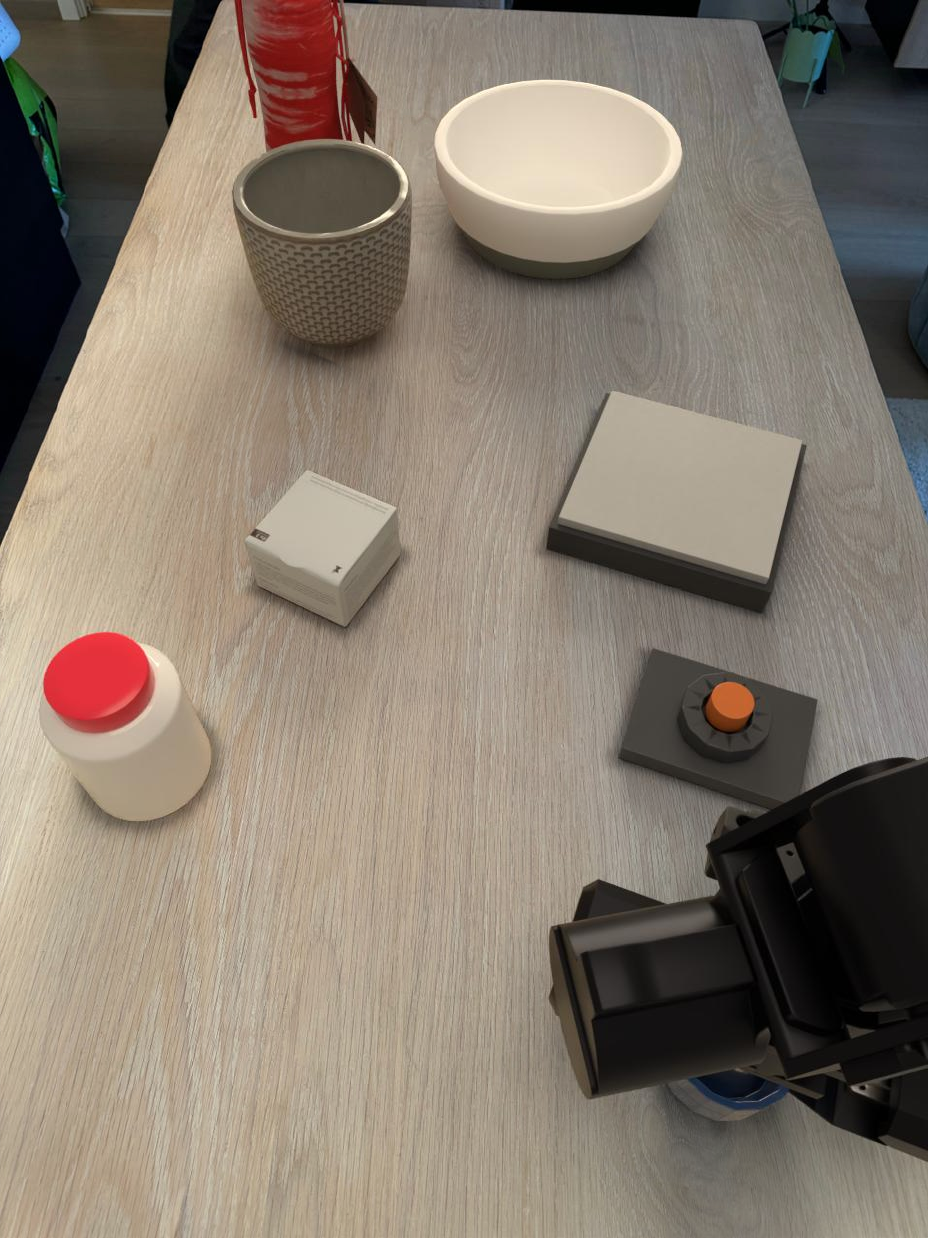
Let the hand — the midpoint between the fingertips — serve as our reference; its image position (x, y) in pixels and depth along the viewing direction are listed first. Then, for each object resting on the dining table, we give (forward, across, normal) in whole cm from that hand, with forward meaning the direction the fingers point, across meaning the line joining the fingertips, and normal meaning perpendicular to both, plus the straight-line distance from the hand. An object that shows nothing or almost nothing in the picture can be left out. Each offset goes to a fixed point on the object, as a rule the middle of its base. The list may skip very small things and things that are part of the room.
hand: (720, 1050), depth 49 cm
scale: (+1, +11, -37) cm, 39 cm away
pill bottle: (+1, +37, -4) cm, 37 cm away
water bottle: (+1, +52, -62) cm, 81 cm away
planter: (+1, +44, -47) cm, 64 cm away
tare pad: (+1, +4, -19) cm, 19 cm away
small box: (+1, +33, -22) cm, 40 cm away
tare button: (-1, +4, -19) cm, 19 cm away
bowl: (+1, +31, -68) cm, 75 cm away
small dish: (+1, 0, 0) cm, 1 cm away
